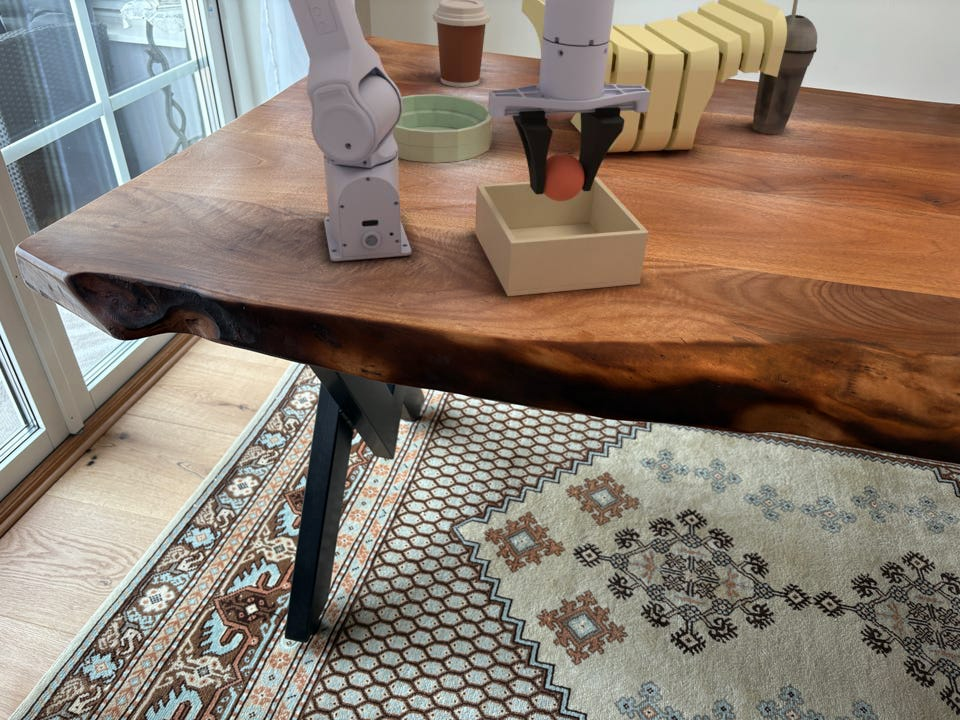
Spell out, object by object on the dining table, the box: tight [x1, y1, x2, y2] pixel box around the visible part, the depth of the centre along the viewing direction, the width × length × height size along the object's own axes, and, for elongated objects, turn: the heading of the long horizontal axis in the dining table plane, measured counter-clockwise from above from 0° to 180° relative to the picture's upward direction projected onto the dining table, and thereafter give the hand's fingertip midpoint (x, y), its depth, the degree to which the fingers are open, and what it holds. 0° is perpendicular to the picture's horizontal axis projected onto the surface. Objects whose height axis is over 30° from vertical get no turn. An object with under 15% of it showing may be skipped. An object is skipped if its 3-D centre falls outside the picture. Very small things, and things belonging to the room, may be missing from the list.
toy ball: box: [543, 153, 585, 201], centre depth 73 cm, size 4×4×4 cm
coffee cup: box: [432, 0, 491, 88], centre depth 124 cm, size 9×9×12 cm
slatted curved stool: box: [521, 0, 787, 153], centre depth 102 cm, size 30×16×18 cm, turn 101°
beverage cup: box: [751, 0, 818, 135], centre depth 107 cm, size 7×7×20 cm
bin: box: [474, 176, 649, 297], centre depth 76 cm, size 13×13×6 cm
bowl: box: [392, 93, 494, 164], centre depth 101 cm, size 15×15×4 cm
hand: (560, 188), depth 73 cm, fingers closed on toy ball, 4 cm apart
